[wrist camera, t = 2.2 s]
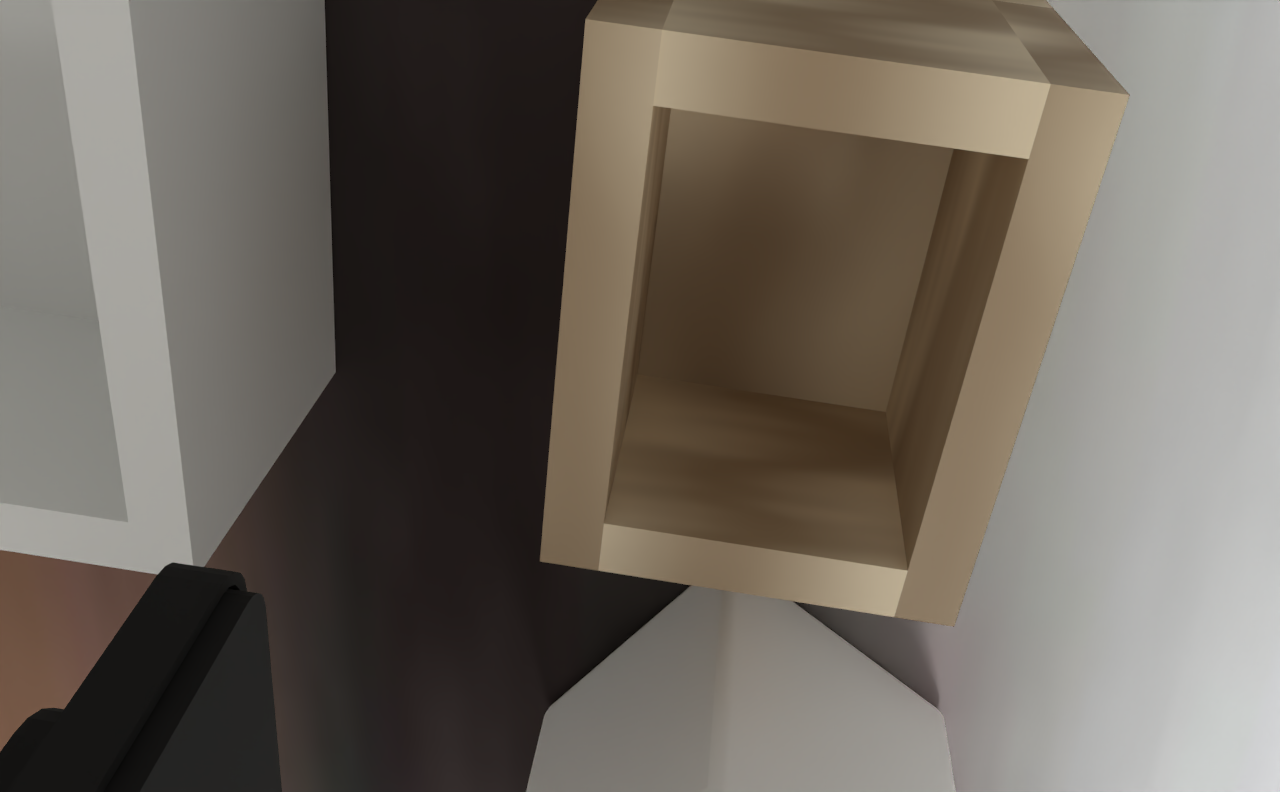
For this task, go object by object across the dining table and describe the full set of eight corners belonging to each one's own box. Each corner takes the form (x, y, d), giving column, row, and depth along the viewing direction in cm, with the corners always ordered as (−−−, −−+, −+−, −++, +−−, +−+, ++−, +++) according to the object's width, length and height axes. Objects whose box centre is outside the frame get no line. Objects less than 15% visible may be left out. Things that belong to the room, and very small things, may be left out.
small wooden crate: (1041, -5, 20) (1129, 94, 15) (919, 434, 25) (954, 626, 19) (637, -61, 20) (585, 18, 15) (591, 385, 25) (539, 561, 20)
